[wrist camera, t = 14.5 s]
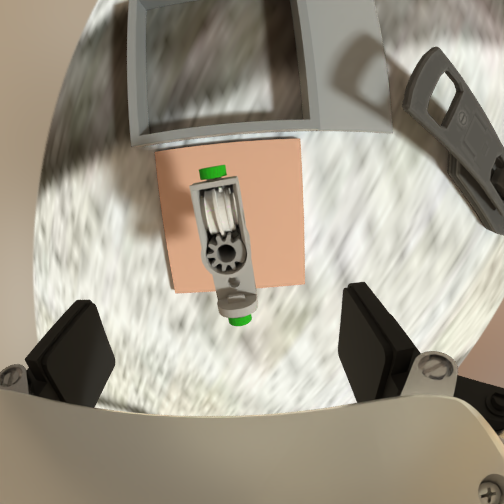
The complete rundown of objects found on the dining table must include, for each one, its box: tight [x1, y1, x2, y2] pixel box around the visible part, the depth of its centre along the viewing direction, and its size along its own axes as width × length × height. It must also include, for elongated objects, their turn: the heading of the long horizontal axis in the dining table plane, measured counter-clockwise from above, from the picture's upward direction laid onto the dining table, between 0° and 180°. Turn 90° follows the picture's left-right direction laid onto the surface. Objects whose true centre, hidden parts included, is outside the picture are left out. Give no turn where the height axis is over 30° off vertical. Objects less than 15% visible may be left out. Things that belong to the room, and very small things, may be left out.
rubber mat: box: [155, 139, 305, 293], centre depth 27 cm, size 13×14×1 cm
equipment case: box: [127, 0, 393, 147], centre depth 21 cm, size 24×16×3 cm, turn 94°
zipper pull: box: [402, 47, 504, 235], centre depth 22 cm, size 9×7×25 cm
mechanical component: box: [189, 165, 258, 326], centre depth 22 cm, size 3×10×10 cm, turn 8°
